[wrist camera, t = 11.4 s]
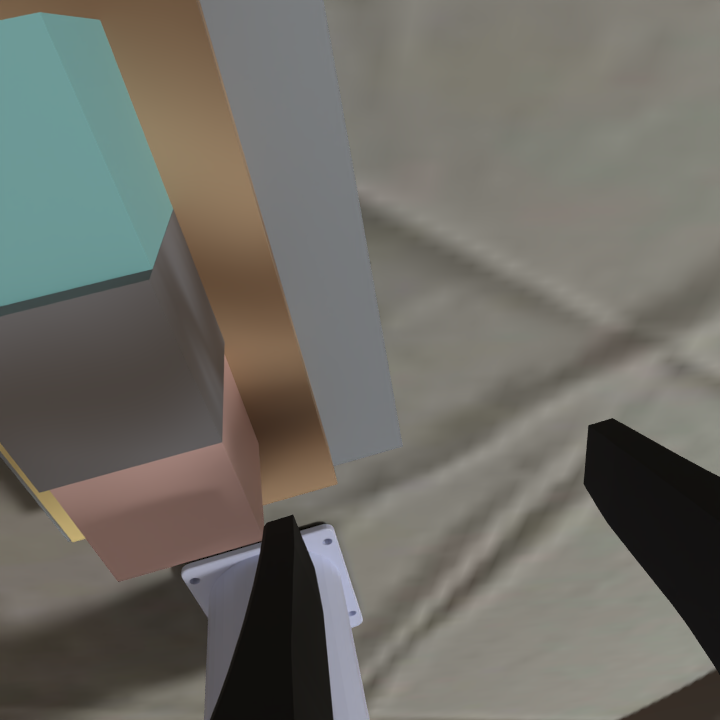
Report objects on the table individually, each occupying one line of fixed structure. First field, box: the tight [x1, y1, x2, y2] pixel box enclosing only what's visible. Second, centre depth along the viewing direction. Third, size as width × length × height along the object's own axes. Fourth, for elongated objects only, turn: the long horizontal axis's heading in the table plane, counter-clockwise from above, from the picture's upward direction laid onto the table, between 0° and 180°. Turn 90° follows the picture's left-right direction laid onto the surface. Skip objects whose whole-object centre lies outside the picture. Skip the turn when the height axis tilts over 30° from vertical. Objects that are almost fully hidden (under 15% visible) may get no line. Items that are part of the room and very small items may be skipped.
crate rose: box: [50, 354, 264, 582], centre depth 14 cm, size 4×4×4 cm
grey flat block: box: [0, 0, 403, 542], centre depth 16 cm, size 20×14×3 cm
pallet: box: [0, 0, 337, 505], centre depth 13 cm, size 18×8×6 cm, turn 10°
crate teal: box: [0, 12, 173, 307], centre depth 10 cm, size 4×4×4 cm
